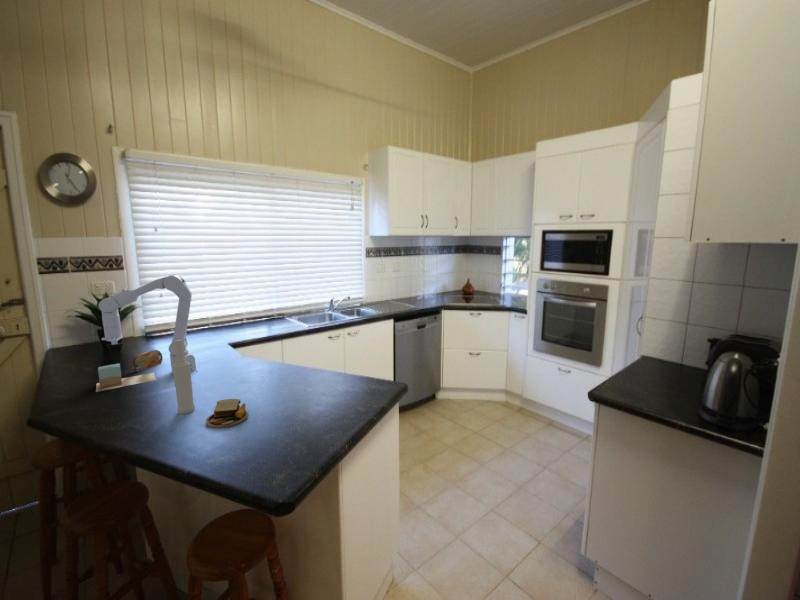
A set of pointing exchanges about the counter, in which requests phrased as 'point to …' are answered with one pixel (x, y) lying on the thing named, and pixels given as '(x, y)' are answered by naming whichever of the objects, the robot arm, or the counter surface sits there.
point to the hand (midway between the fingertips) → (116, 357)
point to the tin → (146, 360)
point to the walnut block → (110, 382)
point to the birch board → (130, 381)
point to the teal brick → (109, 371)
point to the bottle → (183, 381)
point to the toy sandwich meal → (227, 414)
